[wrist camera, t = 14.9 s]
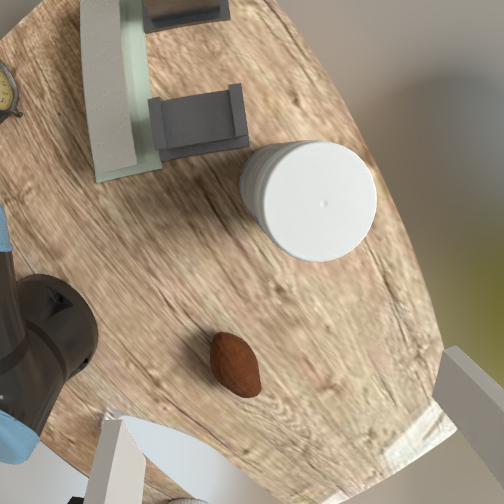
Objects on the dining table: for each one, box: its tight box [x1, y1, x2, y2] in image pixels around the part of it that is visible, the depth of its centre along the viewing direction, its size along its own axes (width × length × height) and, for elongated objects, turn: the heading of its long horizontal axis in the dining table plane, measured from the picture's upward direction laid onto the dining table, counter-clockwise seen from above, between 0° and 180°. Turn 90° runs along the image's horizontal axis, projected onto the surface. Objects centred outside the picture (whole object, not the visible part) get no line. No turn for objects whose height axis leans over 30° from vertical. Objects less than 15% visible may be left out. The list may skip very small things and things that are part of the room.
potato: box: [210, 332, 261, 398], centre depth 40 cm, size 6×12×6 cm, turn 25°
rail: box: [80, 0, 146, 174], centre depth 28 cm, size 4×22×4 cm, turn 8°
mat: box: [80, 0, 163, 183], centre depth 31 cm, size 8×24×1 cm, turn 8°
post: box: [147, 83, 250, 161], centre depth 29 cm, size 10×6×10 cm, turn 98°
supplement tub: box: [239, 140, 377, 262], centre depth 30 cm, size 10×10×15 cm
